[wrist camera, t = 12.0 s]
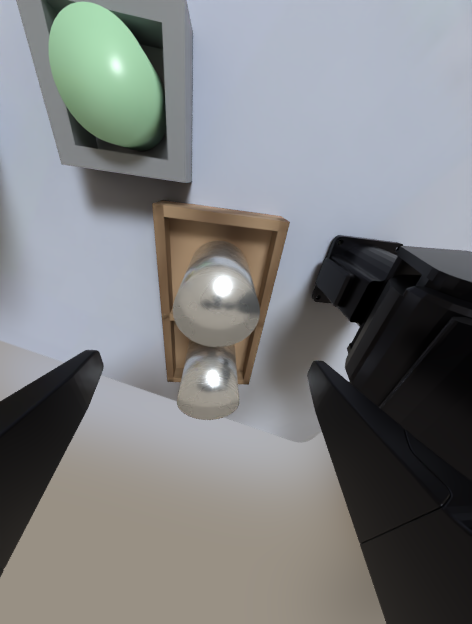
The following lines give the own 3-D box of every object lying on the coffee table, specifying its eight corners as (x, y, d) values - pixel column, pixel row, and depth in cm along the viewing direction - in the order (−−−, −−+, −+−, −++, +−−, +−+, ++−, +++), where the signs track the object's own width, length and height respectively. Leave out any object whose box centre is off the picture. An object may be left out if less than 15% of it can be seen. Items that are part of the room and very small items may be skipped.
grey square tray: (192, 32, 11) (184, -10, 9) (191, 182, 15) (185, 182, 12) (54, 0, 10) (0, -57, 8) (90, 166, 14) (61, 164, 12)
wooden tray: (280, 216, 17) (289, 222, 14) (246, 366, 26) (248, 384, 24) (162, 200, 15) (152, 203, 13) (172, 363, 25) (167, 381, 23)
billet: (252, 244, 16) (268, 279, 11) (243, 297, 19) (251, 349, 13) (190, 237, 16) (170, 269, 10) (190, 293, 19) (174, 344, 13)
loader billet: (237, 327, 21) (243, 384, 15) (232, 361, 24) (235, 420, 18) (189, 324, 21) (175, 382, 15) (189, 359, 23) (177, 419, 18)
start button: (166, 55, 11) (148, 16, 8) (170, 156, 13) (157, 150, 11) (79, 36, 10) (30, -12, 8) (99, 144, 13) (67, 135, 10)
